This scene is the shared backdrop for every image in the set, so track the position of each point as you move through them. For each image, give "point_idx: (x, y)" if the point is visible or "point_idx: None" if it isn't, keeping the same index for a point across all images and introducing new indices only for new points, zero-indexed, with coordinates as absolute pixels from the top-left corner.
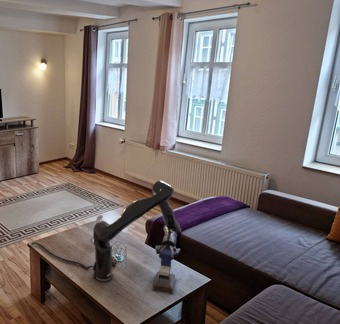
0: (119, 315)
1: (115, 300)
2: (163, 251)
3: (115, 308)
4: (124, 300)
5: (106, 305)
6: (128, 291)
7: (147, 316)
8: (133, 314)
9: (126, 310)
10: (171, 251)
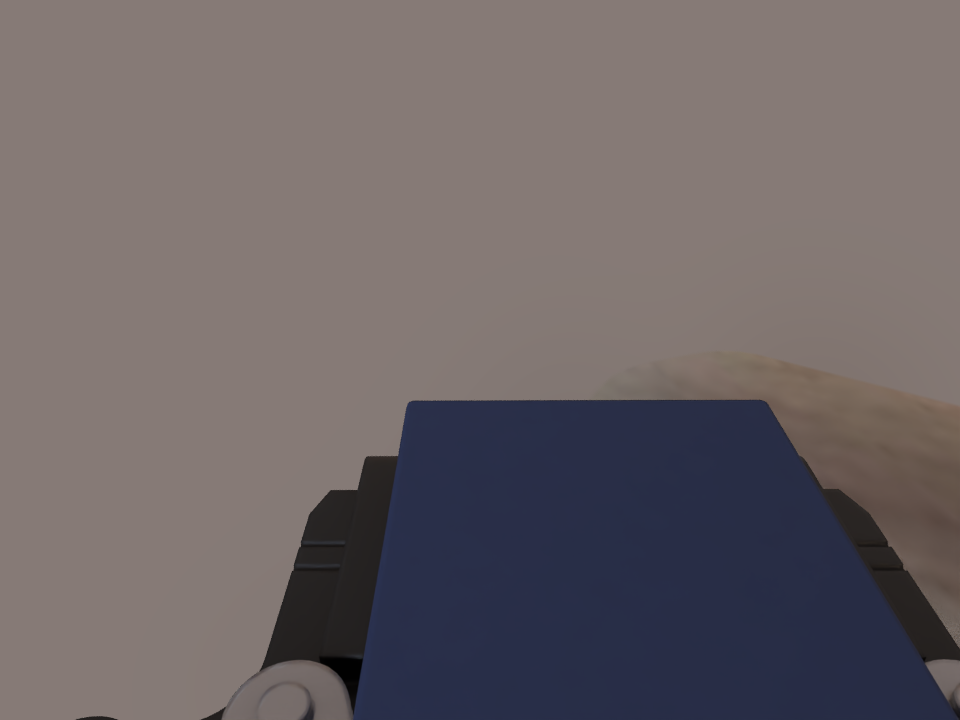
0: (786, 365)
1: (941, 462)
2: (769, 524)
3: (863, 401)
4: (869, 480)
5: (952, 407)
6: (943, 600)
7: (590, 398)
8: (698, 390)
9: (771, 405)
10: (374, 624)
